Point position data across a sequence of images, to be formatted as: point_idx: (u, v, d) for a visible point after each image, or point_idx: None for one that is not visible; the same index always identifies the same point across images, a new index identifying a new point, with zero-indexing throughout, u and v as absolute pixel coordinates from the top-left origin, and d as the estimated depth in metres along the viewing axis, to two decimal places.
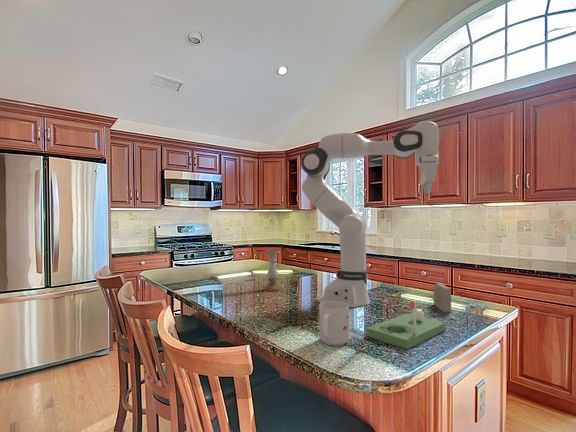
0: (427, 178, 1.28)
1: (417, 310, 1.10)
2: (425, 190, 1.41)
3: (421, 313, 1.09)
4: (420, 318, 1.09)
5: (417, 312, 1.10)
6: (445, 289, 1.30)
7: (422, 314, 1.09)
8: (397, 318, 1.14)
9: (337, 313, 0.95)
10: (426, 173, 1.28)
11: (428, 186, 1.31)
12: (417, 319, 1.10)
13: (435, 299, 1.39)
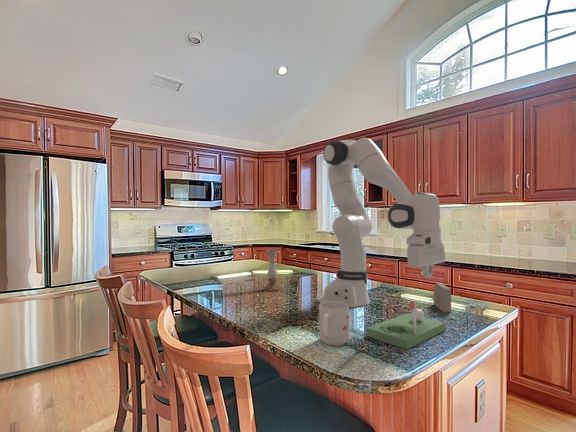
0: (409, 265, 1.10)
1: (417, 310, 1.10)
2: None
3: (421, 313, 1.09)
4: (420, 318, 1.09)
5: (417, 312, 1.10)
6: (445, 289, 1.30)
7: (422, 314, 1.09)
8: (397, 318, 1.14)
9: (337, 313, 0.95)
10: (408, 259, 1.10)
11: (424, 271, 1.14)
12: (417, 319, 1.10)
13: (435, 299, 1.39)
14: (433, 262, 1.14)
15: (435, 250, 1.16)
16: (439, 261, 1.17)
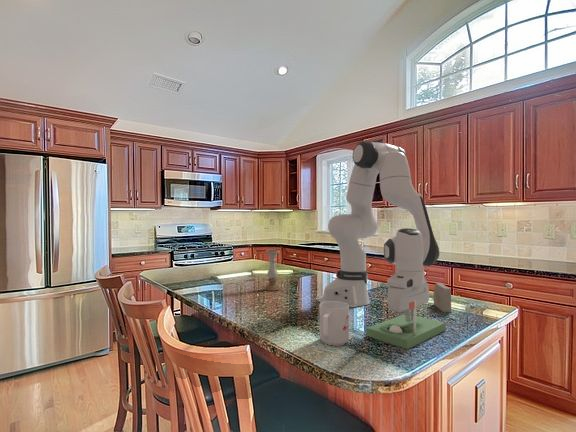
0: (390, 309, 1.02)
1: None
2: None
3: (396, 331, 1.00)
4: None
5: None
6: (445, 289, 1.30)
7: (397, 331, 1.00)
8: (397, 318, 1.14)
9: (337, 313, 0.95)
10: (388, 302, 1.02)
11: (405, 313, 1.06)
12: None
13: (435, 299, 1.39)
14: (416, 304, 1.07)
15: (418, 291, 1.08)
16: (422, 302, 1.10)
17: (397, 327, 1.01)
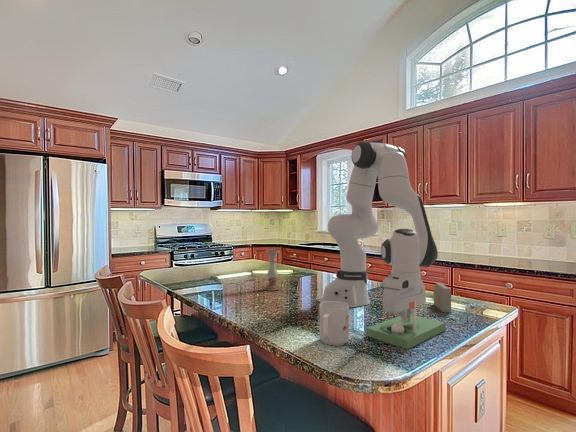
0: (385, 310, 1.01)
1: (394, 325, 1.03)
2: None
3: (399, 325, 1.03)
4: (402, 330, 1.02)
5: (396, 326, 1.02)
6: (445, 289, 1.30)
7: (401, 326, 1.03)
8: (397, 318, 1.14)
9: (337, 313, 0.95)
10: (384, 304, 1.01)
11: (401, 315, 1.05)
12: None
13: (435, 299, 1.39)
14: None
15: (414, 292, 1.07)
16: (419, 303, 1.08)
17: None
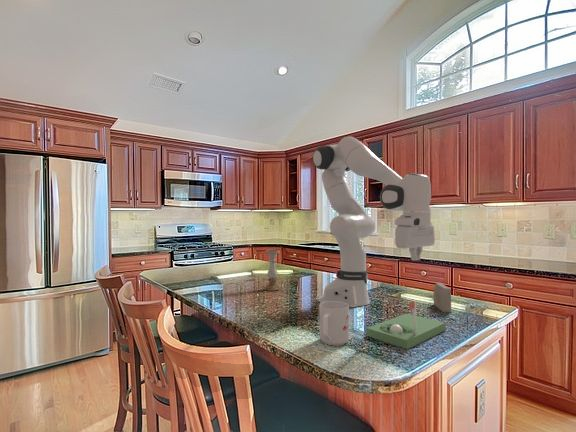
0: (397, 246, 1.08)
1: (391, 328, 1.02)
2: None
3: (396, 327, 1.01)
4: (400, 332, 1.01)
5: (393, 330, 1.01)
6: (445, 289, 1.30)
7: (398, 327, 1.01)
8: (397, 318, 1.14)
9: (337, 313, 0.95)
10: (396, 240, 1.08)
11: (411, 253, 1.13)
12: None
13: (435, 299, 1.39)
14: (421, 244, 1.13)
15: (424, 232, 1.14)
16: (428, 244, 1.16)
17: (398, 325, 1.02)
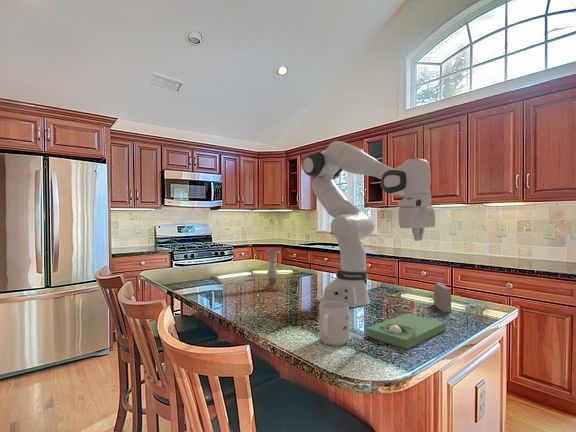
0: (400, 226, 1.14)
1: None
2: None
3: (394, 330, 1.01)
4: None
5: None
6: (445, 289, 1.30)
7: (395, 329, 1.01)
8: (397, 318, 1.14)
9: (337, 313, 0.95)
10: (399, 220, 1.14)
11: (414, 233, 1.19)
12: None
13: (435, 299, 1.39)
14: (423, 225, 1.19)
15: (426, 214, 1.20)
16: (429, 225, 1.22)
17: (395, 326, 1.01)
